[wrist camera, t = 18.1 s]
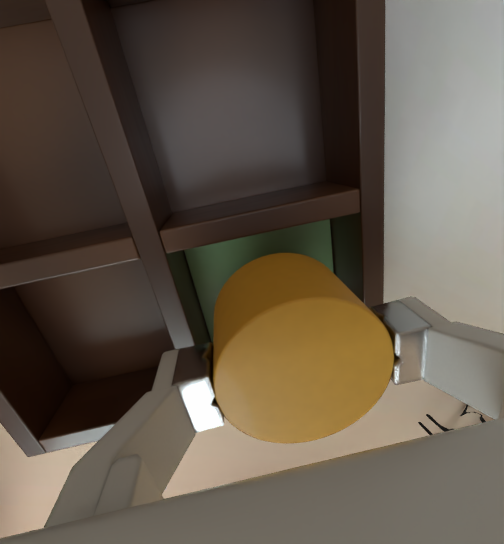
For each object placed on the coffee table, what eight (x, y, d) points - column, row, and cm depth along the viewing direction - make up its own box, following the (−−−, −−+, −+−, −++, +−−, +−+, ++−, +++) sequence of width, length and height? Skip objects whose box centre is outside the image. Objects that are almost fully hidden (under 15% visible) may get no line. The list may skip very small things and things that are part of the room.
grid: (303, -503, 6) (396, -1212, 3) (348, 328, 15) (383, 374, 12) (-426, -411, 6) (-1253, -1140, 2) (68, 392, 15) (27, 458, 12)
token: (339, 238, 10) (397, 277, 7) (346, 351, 12) (393, 421, 9) (198, 269, 10) (189, 324, 6) (229, 378, 11) (234, 460, 8)
